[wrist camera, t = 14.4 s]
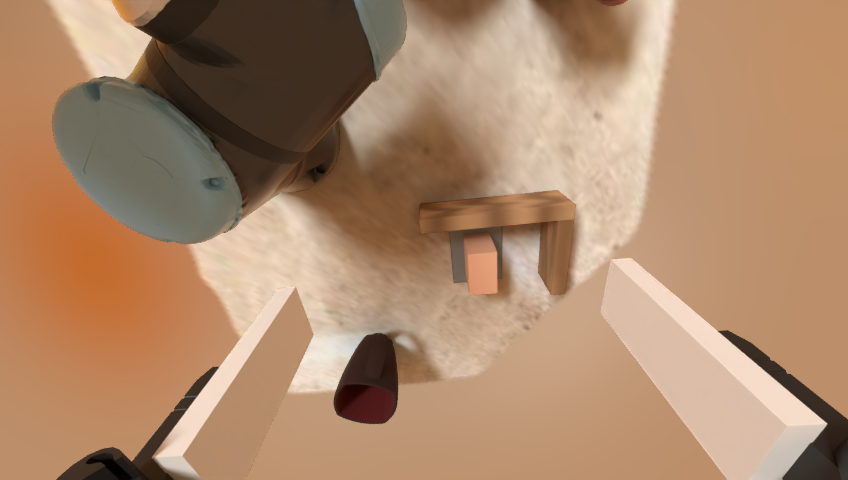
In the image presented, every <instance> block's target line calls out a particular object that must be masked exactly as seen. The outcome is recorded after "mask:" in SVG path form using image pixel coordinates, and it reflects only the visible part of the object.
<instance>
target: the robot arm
mask: <svg viewBox="0 0 848 480" xmlns="http://www.w3.org/2000/svg"><path fill="white" fill-rule="evenodd" d="M111 1H112V3H113V4H114V6H115V8H116V10H117V11H118V13H119V15H120V17H121V18H122V19H123V20H124V21H126V22H127V23H129V24H131V25H132V26H134V27H136V28H138V29H139V30H141V31H143V32H144V33H146V34H148V35H150V36H151V37H152V39H151V41H150V43H149V44H148V46H147V48H146V50H145V51H144V53H143V55H142V56H141V58H140V60H139V61H138V63H137V65H136V67H135V68H134V70H133V72H132V73H131V75H130V76H129V77H127V78H126V79H124V80H123V79H119V78H116V77H107V76H103V77H100V78H93V79H91V80H89V81H87V82H82V83H78V84H76V85H73V86H71V87H70V88H68V89H67V90H66V91H64V92H63V93H62V94H61V95H60V97H59V98H58V100H57V102H56V104H55V106H54V110H53V115H52V130H53V136H54V140H55V143H56V147H57V149H58V151H59V154H60V156H61V159H62V161H63V163H64V164H65V166H66V167H67V168H68V169H69V170H70V172H71V173H72V175H73V177H74V179H75V181H76V183H77V184H78V185H79V186H80V188H81V189H82V190H83V191H84V192H85V193H86V194H87V195H88V196H89V198H90V199H91V200H92V201H94V202H95V203H96V204H97V205H98V206H99V207H100V208H101V209H103V210H104V211H105V212H106V213H107V214H109V215H110V216H111V217H113V218H114V219H116V220H117V221H119V222H120V223H122V224H123V225H125V226H127V227H128V228H130V229H132V230H134V231H136V232H138V233H140V234H142V235H145V236H147V237H150V238H153V239H156V240H159V241H164V242H176V243H179V244H195V243H201V242H204V241H207V240H210V239H212V238H214V237H216V236H217V235H219V234H221V233H226V232H228V231H229V230H232V229H233V228H235V227H236V226H237V225H238V223H239V222H240V220H242V219H243V218H245V217H246V216H247V215H249V214H250V213H252V212H253V211H255V210H256V209H257V208H259V207H260V206H262V205H263V204H264V203H266V202H267V201H269V200H270V199H272V198H273V197H274V196H276V195H277V194H279V193H280V192H297V191H301V190H305V189H307V188H310V187H312V186H314V185H315V184H317V183H318V182H320V181H321V180H322V179H323V178H324V177H325V176H326V175H327V174H328V173H329V172H330V171H331V169H332V168H333V166H334V164H335V162H336V160H337V157H338V154H339V148H340V133H339V127H338V123H337V121H338V120H339V118H340V117H341V116H342V115H343V114H344V113H345V112H346V111H347V110H348V109H349V107H350V106H351V105H352V104H353V103H354V102H355V101H356V100H357V99H358V98H359V96H360V95H361V94H362V93H363V92H364V91H365V90H366V89H367V88H368V87H369V85H370V84H371V83H372V82H377V81H378V80H379V77H380V76H381V72H382V70H383V69H384V68H385V67H386V65H387V64H388V63H389V62H390V61H391V59H392V58H393V57H394V56H395V55H396V53H397V52H398V51H399V50H400V48H401V47H402V45H403V43H404V41H405V37H406V30H407V18H406V13H405V9H404V5H403V2H402V0H111ZM601 314H602V315H603V317H604V318H605V320H606V321H607V322H608V323H609V325H610V326H611V327H612V329H613V330H614V331H615V333H616V334H617V335H618V336H619V338H620V339H621V341H622V342H623V343H624V344H625V346H626V347H627V348H628V350H629V351H630V352H631V354H632V355H633V356H634V358H635V359H636V360H637V361H638V363H639V364H640V365H641V367H642V368H643V369H644V371H645V372H646V373H647V375H648V376H649V377H650V378H651V380H652V381H653V382H654V384H655V385H656V387H657V388H658V389H659V390H660V392H661V393H662V394H663V396H664V397H665V398H666V400H667V401H668V402H669V404H670V405H671V406H672V408H673V409H674V410H675V411H676V413H677V414H678V415H679V417H680V418H681V419H682V421H683V422H684V423H685V425H686V426H687V427H688V429H689V430H690V431H691V432H692V434H693V435H694V436H695V438H696V439H697V440H698V441H699V443H700V444H701V446H702V447H703V448H704V450H705V451H706V452H707V453H708V455H709V456H710V457H711V459H712V460H713V461H714V463H715V464H716V465H717V466H718V468H719V469H720V471H721V472H722V473H723V474H724V476H725V477H726V478H727V480H848V419H847V418H845V417H844V416H843V415H841V414H840V413H839V412H838V411H836V410H835V409H834V408H833V407H831V406H830V405H829V404H827V403H826V402H825V401H824V400H823V399H821V398H820V397H819V396H817V395H816V394H815V393H813V392H812V391H811V390H810V389H809V388H807V387H806V386H805V385H804V384H802V383H801V382H800V381H798V380H797V379H796V378H795V377H793V376H792V375H791V374H787V373H786V370H785V369H783V368H782V367H781V366H780V365H778V364H777V363H776V362H774V361H771V360H770V358H769V357H768V356H767V355H766V354H764V353H763V352H762V351H761V350H759V349H758V348H757V347H755V346H754V345H753V344H752V343H750V342H748V341H747V340H745V339H743V338H741V337H739V336H737V335H735V334H733V333H732V332H730V331H728V330H727V331H716V330H715V329H714V328H713V327H712V326H711V325H710V324H708V323H707V322H706V321H705V320H704V319H702V318H701V317H700V316H699V315H698V314H697V313H695V312H694V311H693V310H692V309H691V308H689V307H688V306H687V305H686V304H685V303H683V302H682V301H681V300H680V299H679V298H678V297H676V296H675V295H674V294H673V293H672V292H670V291H669V290H668V289H667V288H666V287H664V286H663V285H662V284H661V283H660V282H659V281H657V280H656V279H655V278H654V277H653V276H651V275H650V274H649V273H648V272H647V271H646V270H644V269H643V268H642V267H641V266H640V265H638V264H637V263H636V262H635V261H634V260H632V259H631V258H625V259H615V260H614V259H613V260H611V262H610V267H609V272H608V278H607V282H606V287H605V293H604V298H603V303H602V308H601ZM313 335H314V334H313V332H312V329H311V326H310V324H309V321H308V318H307V316H306V313H305V310H304V308H303V305H302V302H301V300H300V297H299V294H298V292H297V289H296V287H289V288H279V289H278V290H277V291H276V293H275V294H274V295H273V297H272V298H271V299H270V301H269V302H268V303H267V305H266V306H265V307H264V309H263V310H262V311H261V313H260V314H259V315H258V317H257V318H256V319H255V321H254V322H253V323H252V325H251V326H250V327H249V328H248V330H247V331H246V332H245V334H244V335H243V336H242V338H241V339H240V341H239V342H238V343H237V345H236V346H235V347H234V348H233V350H232V351H231V352H230V354H229V355H228V356H227V358H226V359H225V361H224V362H223V363H222V365H221V366H220V367H212V368H211V369H210V370H209V371H207V372H206V373H205V374H204V375H203V376H201V377H200V378H199V379H198V380H197V381H196V382H195V383H194V384H193V386H192V387H191V389H189V391H188V392H187V393H186V395H185V398H184V399H182V400H181V401H180V402H179V403H178V405H177V406H176V407H175V408H174V409H175V410H174V412H171V413H170V415H169V416H168V417H167V418H166V420H165V421H164V422H163V424H162V425H161V426H160V427H159V428H158V430H157V431H156V432H155V434H154V435H153V436H152V437H151V439H150V440H149V441H148V442H147V444H146V445H145V446H144V448H143V449H142V450H141V451H140V452H139V454H138V455H137V456H136V457H135V459H134V460H133V461H132V462H131V461H130V460H129V459H128V458H127V457H126V456H125V455H124V454H123V453H122V452H121V451H120V450H119V449H116V448H114V447H112V448H105V449H101V450H99V451H96V452H94V453H92V454H90V455H87V456H86V457H84V458H83V459H81V460H80V461H78V462H77V463H75V464H74V465H72V466H71V467H70V468H69V469H68V470H66V471H65V472H64V473H63V474H62V475H61V476H60V477H58V478H57V480H245V479H246V478H247V475H248V473H249V471H250V469H251V467H252V465H253V463H254V461H255V458H256V456H257V454H258V452H259V450H260V448H261V446H262V443H263V441H264V439H265V437H266V435H267V433H268V431H269V429H270V426H271V424H272V422H273V420H274V418H275V416H276V414H277V412H278V409H279V407H280V405H281V403H282V401H283V399H284V397H285V394H286V392H287V390H288V388H289V386H290V384H291V382H292V380H293V377H294V375H295V373H296V371H297V369H298V367H299V365H300V362H301V360H302V358H303V356H304V354H305V352H306V350H307V348H308V345H309V343H310V341H311V339H312V337H313Z"/></svg>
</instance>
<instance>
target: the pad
mask: <svg viewBox="0 0 848 480" xmlns="http://www.w3.org/2000/svg"><path fill="white" fill-rule="evenodd" d="M483 233H489V234H490V236H491V238H492V241H493V243H494V246H495V248H496V250H497V279H502V226H497V227H486V228H476V229H465V230H455V231H450V243H451V255H452V267H453V279H454V283H458V282H467V278H466V271H465V255H464V238H463V235H473V234H483Z"/></svg>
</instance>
